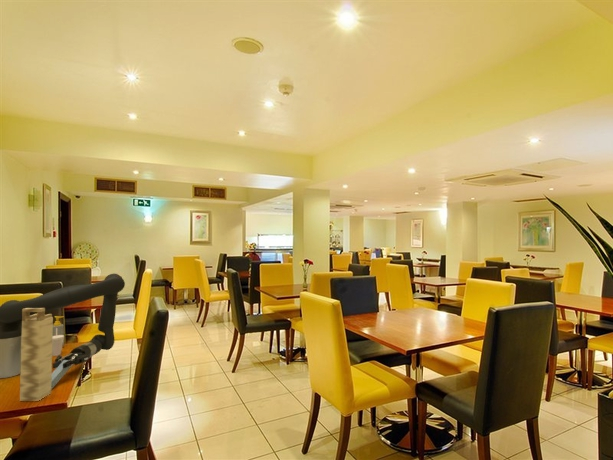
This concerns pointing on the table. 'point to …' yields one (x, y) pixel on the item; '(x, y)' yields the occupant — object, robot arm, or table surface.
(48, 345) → the tall patterned tan block
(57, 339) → the smoothie
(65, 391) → the table surface
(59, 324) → the soap bottle
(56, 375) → the bar
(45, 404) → the table surface
